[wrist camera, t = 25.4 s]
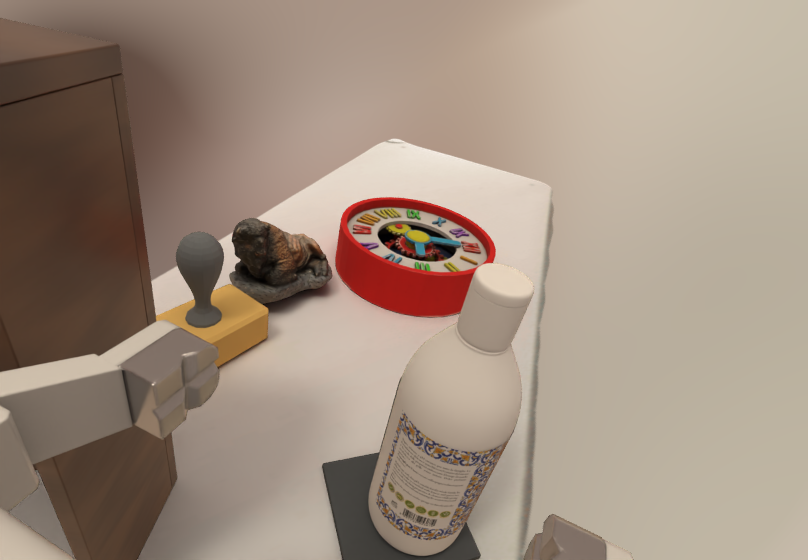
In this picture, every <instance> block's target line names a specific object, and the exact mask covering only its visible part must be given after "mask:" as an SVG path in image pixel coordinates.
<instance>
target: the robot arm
mask: <svg viewBox="0 0 808 560" xmlns="http://www.w3.org/2000/svg"><path fill="white" fill-rule="evenodd" d="M218 358H219V353H218V347H216V346H215V345H213V344H211V343H209V342H207V341H205V340H203V339H201V338H200V337H198V336H196V335H194V334H192V333H190V332H188V331H186V330H185V329H183V328H181V327H179V326H177V325H175V324H173V323H171V322H169V321H167V320H160V321H156V322H154V323H153V324H151V325H150V326H148V327H146V328H145V329H143V330H141V331H140V332H138V333H136V334H135V335H133V336H131V337H130V338H128V339H127V340H125V341H123V342H122V343H120V344H118V345H117V346H115V347H113V348H112V349H110V350H108V351H107V352H105V353H103V354H102V355H100V356H98V355H96V354H90V355H85V356H80V357H75V358H70V359H65V360H59V361H54V362H49V363H44V364H39V365H34V366H29V367H24V368H19V369H13V370H8V371H3V372H0V560H76V559H74V558H73V557H71V556H70V555H69V554H67V553H66V552H64V551H63V550H61V549H60V548H59V547H57V546H56V545H54V544H53V543H51V542H50V541H48V540H47V539H46V538H44V537H43V536H41V535H40V534H38V533H37V532H35V531H34V530H33V529H31V528H30V527H28V526H27V525H25V524H24V523H23V522H21V521H20V520H18V519H17V518H15V517H14V516H12V515H11V514H10V513H8V511H10V510H11V509H12V508H13V507H15V506H16V505H17V504H18V503H20V502H21V501H22V500H23V499H25V498H26V497H27V496H28V495H30V494H31V493H32V492H34V491H35V490H36V489H37V488H38V485H39V482H40V481H39V479H38V477H37V474H36V472H35V469H34V467H33V464H35V463H38V462H41V461H43V460H46V459H49V458H51V457H54V456H56V455H59V454H62V453H64V452H67V451H69V450H72V449H75V448H77V447H80V446H82V445H85V444H88V443H90V442H93V441H96V440H98V439H101V438H103V437H106V436H109V435H111V434H114V433H116V432H119V431H122V430H124V429H127V428H130V427H132V426H133V425H132V424H134V425H135V426H137V427H139V428H141V429H143V430H145V431H147V432H149V433H150V434H152V435H154V436H156V437H158V438H160V439H162V440H163V439H164V438H165V437H166V436H167V435H169V434H170V433H171V432H172V431H173V430H174V429H175V428H177V427H178V426H179V425H180V424H181V423H182V422H183V421H185V420H186V416H187V411H188V410H190V409H193V408H197V407H200V406H201V405H202V404H204V403H205V402H206V401H207V400H208V399H209V398H210V397H211V395H212V394H213V392H214V391H215V389H216V387H217V385H218V381H219V370H218V368H217V366H216V364H215V363H214V361H215V360H217V359H218ZM524 560H634V559H633V557H632V554H631V553H630V552H628V551H627V550H625V549H623V548H621V547H618V546H617V545H614V544H613V543H610V542H608V541H606V540H604V539H602V537H600V536H598V535H595V534H594V533H591V532H590V531H588V530H585V529H583V528H581V527H579V526H577V525H575V524H573V523H571V522H569V521H567V520H565V519H563V518H561V517H559V516H556V515H554V514H552V515H549V516H548V518H547V519H546V520H545V522H544V526H543V532H542V533H538V534H535V536H534V537H533V539H532V540H531V542H530V544H529V546H528V549H527V551H526V554H525V556H524Z"/></svg>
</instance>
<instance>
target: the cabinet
mask: <svg viewBox="0 0 808 560" xmlns="http://www.w3.org/2000/svg"><path fill="white" fill-rule="evenodd" d="M122 72H123V68H122V61H121V53H120V46H119V45H118V44H116V43H112V42H107V41H103V40H98V39H93V38H89V37H84V36H80V35H75V34H71V33H66V32H62V31H57V30H53V29H48V28H44V27H39V26H35V25H30V24H26V23H21V22H16V21H12V20H7V19H3V18H0V372H3V371H8V370H13V369H19V368H24V367H29V366H34V365H39V364H44V363H49V362H54V361H59V360H65V359H70V358H75V357H80V356H85V355H90V354H96V355H98V356H100V355H102V354H103V353H105V352H107V351H108V350H110V349H112V348H113V347H115V346H117V345H118V344H120V343H122V342H123V341H125V340H127V339H128V338H130V337H131V336H133V335H135V334H136V333H138V332H140V331H141V330H143V329H145V328H146V327H148V326H150V325H151V324H153V323H154V322H156V314H155V307H154V299H153V292H152V284H151V277H150V270H149V262H148V255H147V247H146V239H145V232H144V224H143V217H142V209H141V202H140V194H139V187H138V179H137V172H136V164H135V157H134V149H133V142H132V134H131V127H130V119H129V112H128V105H127V97H126V89H125V82H124V75H123V74H121V73H122ZM132 425H133V426H132V427H130V428H127V429H124V430H122V431H119V432H116V433H114V434H111V435H109V436H106V437H103V438H101V439H98V440H96V441H93V442H90V443H88V444H85V445H82V446H80V447H77V448H75V449H72V450H69V451H67V452H64V453H62V454H59V455H56V456H54V457H51V458H49V459H46V460H43V461H41V462H38V463H35V464H33V467H34V469H35V470H38V471H39V473H40V476H41V478H42V481H43V483H44V485H45V488H46V490H47V492H48V495H49V497H50V500H51V502H52V504H53V507H54V509H55V512H56V514H57V516H58V519H59V521H60V523H61V526H62V528H63V531H64V533H65V535H66V538H67V540H68V542H69V545H70V547H71V550H72V552H73V554H74V557H75V559H76V560H137V558H138V556H139V554H140V552H141V550H142V548H143V546H144V544H145V542H146V540H147V538H148V536H149V534H150V532H151V530H152V528H153V526H154V524H155V522H156V520H157V518H158V516H159V514H160V512H161V510H162V508H163V506H164V504H165V502H166V500H167V498H168V496H169V494H170V492H171V490H172V488H173V486H174V484H175V482H176V480H177V472H176V465H175V457H174V450H173V442H172V435H171V433H170V434H169V435H167V436H166V437H165V438H164V439H163V440H162V439H160V438H158V437H156V436H154V435H152V434H150V433H149V432H147V431H145V430H143V429H141V428H139V427H137V426H135V425H134V424H132Z"/></svg>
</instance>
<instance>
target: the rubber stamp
mask: <svg viewBox="0 0 808 560" xmlns="http://www.w3.org/2000/svg"><path fill="white" fill-rule="evenodd" d="M176 261H177V265H178V268H179V271H180V273H181V274H182V276H183V278H184V279H185V281H186V283H187V284H188V286H189V287H190V289H191V291H192V293H193V296H194V300H192V301H189V302H187V303H185V304H182V305H180V306H178V307H176V308H173V309H171V310H169V311H167V312H164V313H162V314H160V315H157V316H156V321H160V320H167V321H169V322H171V323H173V324H175V325H177V326H179V327H181V328H183V329H185V330H186V331H188V332H190V333H192V334H194V335H196V336H198V337H200V338H201V339H203V340H205V341H207V342H209V343H211V344H213V345H215V346H216V347H218V353H219V358H218V359H217V360H215V361H214V363H215V364H216V366H217V367H218V366H220V365H222V364H223V363H225V362H227V361H229V360H230V359H232V358H234V357H235V356H237V355H239V354H240V353H242V352H244V351H245V350H247V349H249V348H250V347H252V346H254V345H255V344H257V343H259V342H260V341H262V340H264V339H265V338H267V334H268V308H267V307H265V306H264V305H262V304H260V303H259V302H257V301H256V300H254V299H253V298H251V297H250V296H248V295H247V294H245V293H244V292H242V291H241V290H239V289H238V288H236V287H235V286H233V285H231V284H228V285H226V286H223V287H221V288H219V289H216V290H214V291H213V289H214V287H215V285H216V283H217V280H218V278H219V276H220V273H221V270H222V266H223V261H224V253H223V249H222V247H221V245H220V243H219V242H218V241H217V240H216V239H215V238H214V237H213V236H212V235H210V234H208V233H205V232H194V233H191V234H189V235H187V236H185V237H184V238H183V239H182V240H181V242H180V244H179V246H178V249H177V252H176Z"/></svg>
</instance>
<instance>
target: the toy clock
mask: <svg viewBox="0 0 808 560" xmlns="http://www.w3.org/2000/svg"><path fill="white" fill-rule="evenodd" d="M495 252H496V249H495V246H494V243H493V241H492V240H491V238H490V236H489V235H488V234H487V233H486V232H485V231H484V230H483V229H482V228H481V227H479V226H478V225H477V224H475V223H474V222H472V221H471V220H469V219H468V218H466V217H464V216H462V215H460V214H458V213H456V212H454V211H451V210H449V209H446V208H444V207H441V206H438V205H434V204H431V203H427V202H423V201H418V200H413V199H406V198H392V197H387V198H373V199H367V200H363V201H360V202H357V203H355V204H353V205H351V206H350V207H348V208H347V209H346V210H345V212H344V213H343V215H342V218H341V224H340V230H339V237H338V244H337V251H336V258H335V263H336V269H337V272H338V274H339V276H340V277H341V279H342V280H343V282H344V283H345V284H346V285H347V286H348V287H349V288H350V289H351V290H352V291H354V292H355V293H356V294H358V295H359V296H360V297H362V298H364V299H366V300H367V301H369V302H371V303H373V304H375V305H377V306H380V307H382V308H385V309H387V310H391V311H394V312H398V313H401V314H407V315H412V316H420V317H444V316H449V315H455V314H458V313H461V310H462V307H463V304H464V301H465V298H466V295H467V292H468V289H469V286H470V284H471V281H472V278H473V275H474V272H475V271H476V269H477V268H478V267H479V266H481V265H483V264H486V263H493V261H494V258H495Z"/></svg>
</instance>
